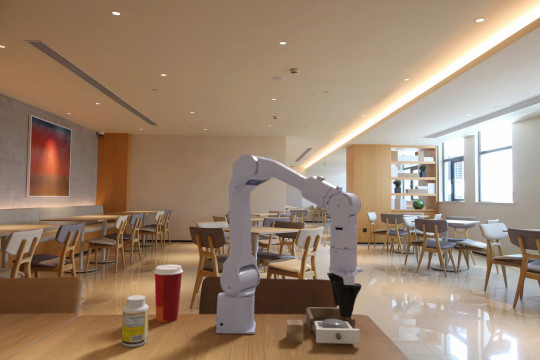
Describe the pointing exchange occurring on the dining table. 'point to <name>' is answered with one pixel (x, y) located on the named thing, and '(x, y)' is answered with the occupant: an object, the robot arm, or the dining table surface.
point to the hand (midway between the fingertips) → (342, 310)
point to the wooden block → (295, 331)
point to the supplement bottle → (135, 321)
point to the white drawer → (336, 334)
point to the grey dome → (333, 323)
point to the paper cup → (167, 292)
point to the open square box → (324, 316)
